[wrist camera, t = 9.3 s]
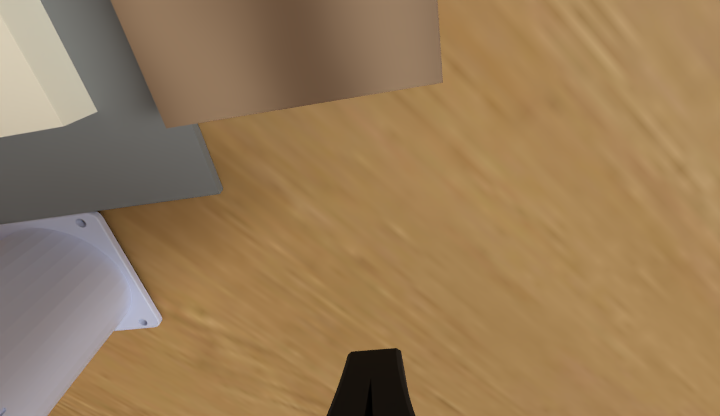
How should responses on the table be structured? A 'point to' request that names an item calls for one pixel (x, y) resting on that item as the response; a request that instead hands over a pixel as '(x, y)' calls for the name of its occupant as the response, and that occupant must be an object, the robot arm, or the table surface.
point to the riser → (277, 52)
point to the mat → (102, 134)
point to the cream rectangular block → (36, 73)
